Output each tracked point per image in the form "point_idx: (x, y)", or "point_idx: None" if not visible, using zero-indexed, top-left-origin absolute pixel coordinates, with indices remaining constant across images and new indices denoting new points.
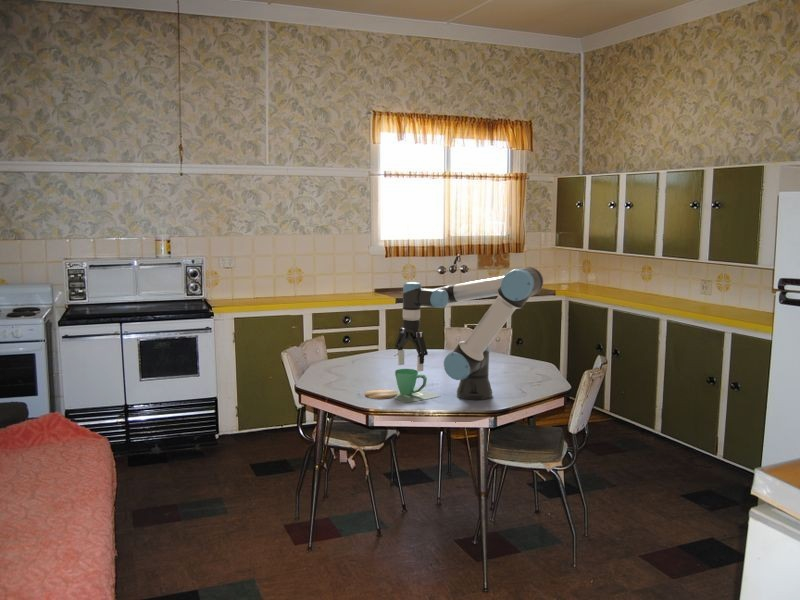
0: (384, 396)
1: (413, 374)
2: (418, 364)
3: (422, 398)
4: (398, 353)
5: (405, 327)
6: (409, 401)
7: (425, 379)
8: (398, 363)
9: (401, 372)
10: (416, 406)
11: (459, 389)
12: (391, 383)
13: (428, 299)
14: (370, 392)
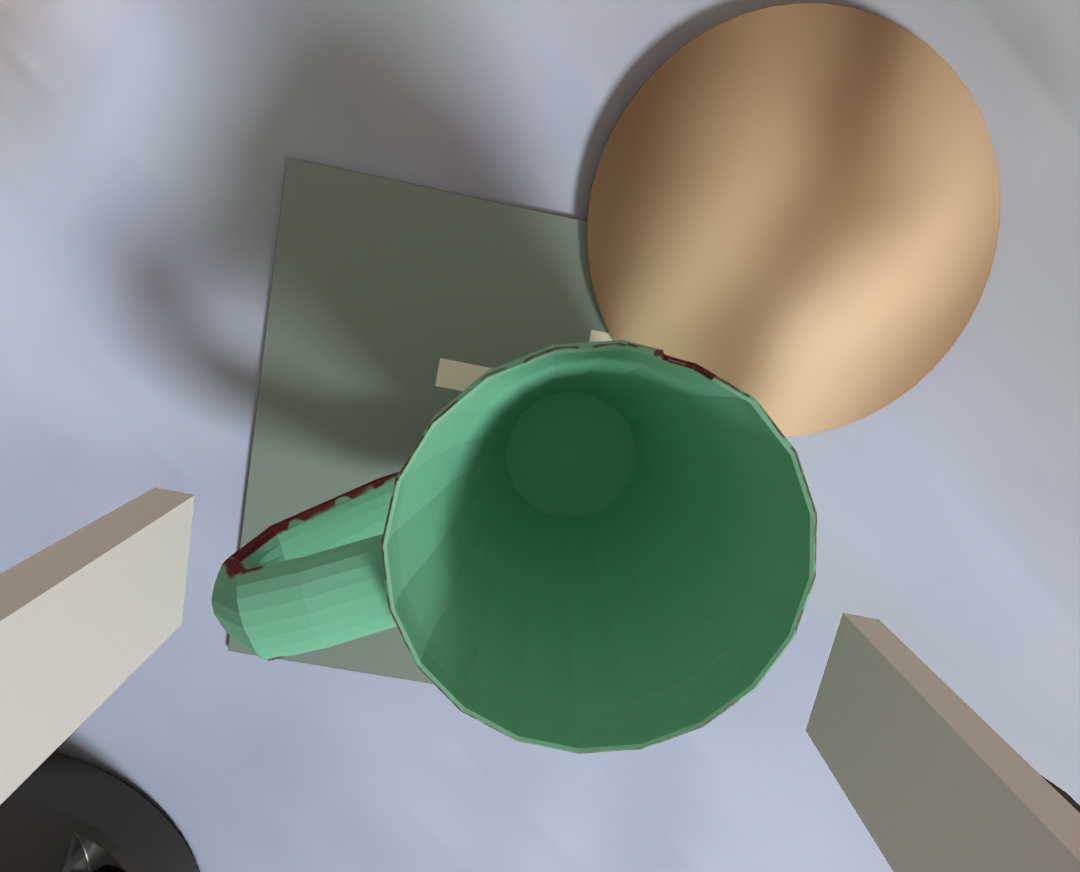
0: (663, 145)
1: (387, 522)
2: (46, 552)
3: (295, 440)
4: (1058, 800)
5: None
6: (305, 228)
7: (218, 589)
8: (883, 634)
9: (765, 595)
10: (96, 131)
11: (19, 827)
12: (1008, 681)
13: None
14: (928, 162)
